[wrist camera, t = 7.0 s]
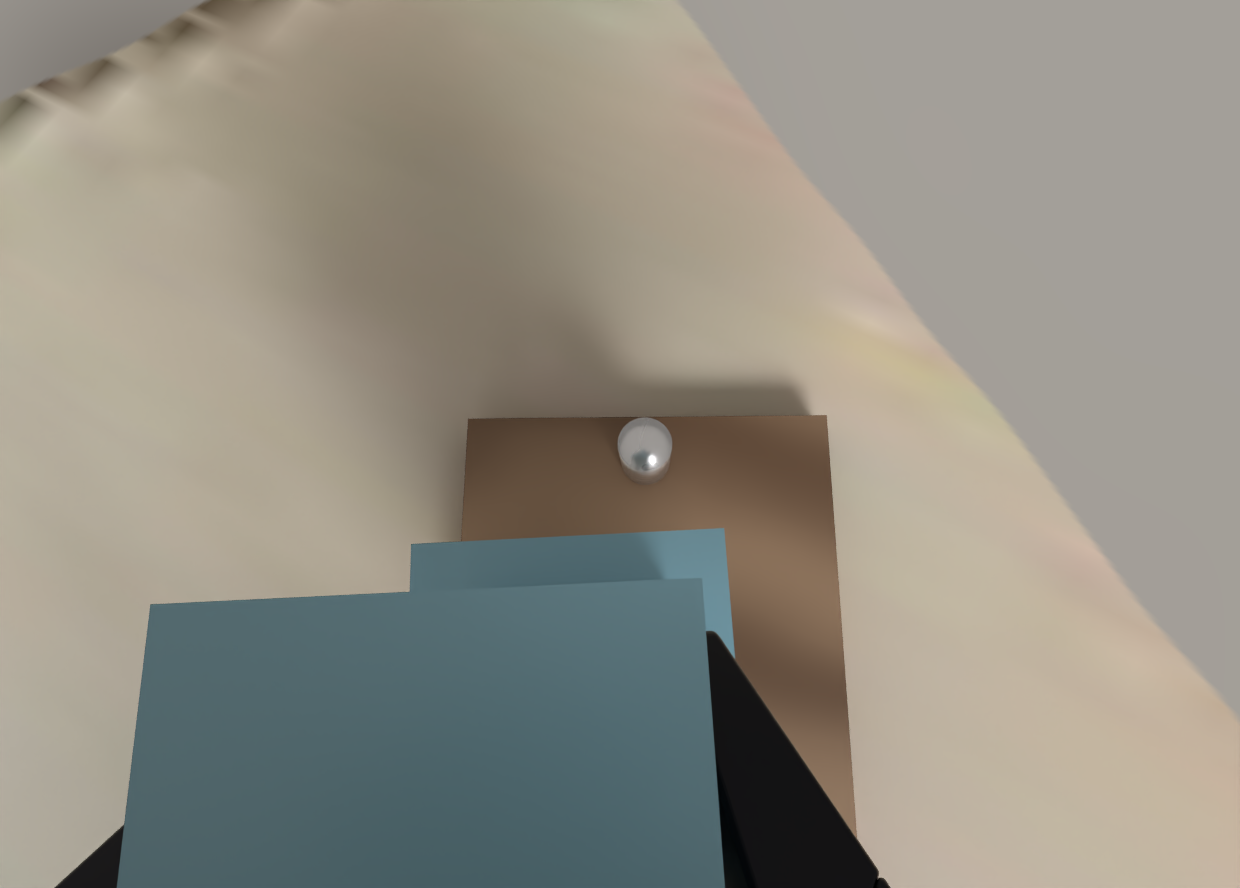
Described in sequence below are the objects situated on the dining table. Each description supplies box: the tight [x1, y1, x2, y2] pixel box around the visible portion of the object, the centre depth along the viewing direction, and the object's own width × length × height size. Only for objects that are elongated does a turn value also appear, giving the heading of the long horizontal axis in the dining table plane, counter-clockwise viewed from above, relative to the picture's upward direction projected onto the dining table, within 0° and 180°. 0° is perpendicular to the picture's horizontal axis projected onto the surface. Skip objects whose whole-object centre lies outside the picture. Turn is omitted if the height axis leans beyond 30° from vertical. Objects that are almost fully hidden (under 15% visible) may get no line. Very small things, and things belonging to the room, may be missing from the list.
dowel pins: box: [618, 417, 672, 485], centre depth 19 cm, size 15×2×2 cm, turn 0°
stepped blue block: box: [117, 528, 735, 888], centre depth 10 cm, size 7×7×10 cm
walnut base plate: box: [461, 415, 857, 838], centre depth 21 cm, size 16×12×2 cm
